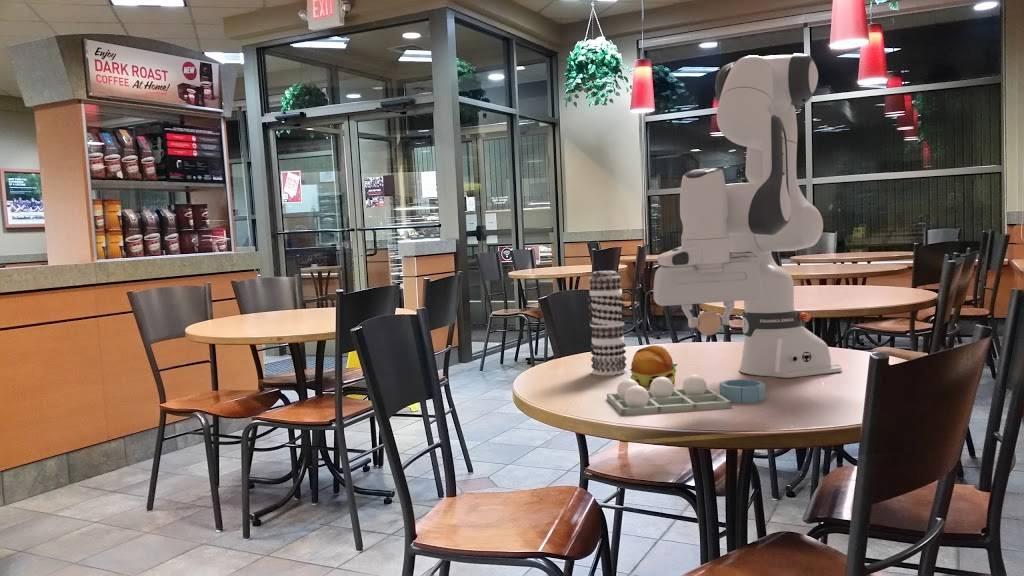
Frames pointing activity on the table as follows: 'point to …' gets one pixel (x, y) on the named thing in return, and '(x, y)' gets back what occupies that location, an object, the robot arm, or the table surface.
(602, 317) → the black white tall cylinder
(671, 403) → the egg carton
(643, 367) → the cheeseburger
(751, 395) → the egg cup
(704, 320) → the brown egg
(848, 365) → the table surface
